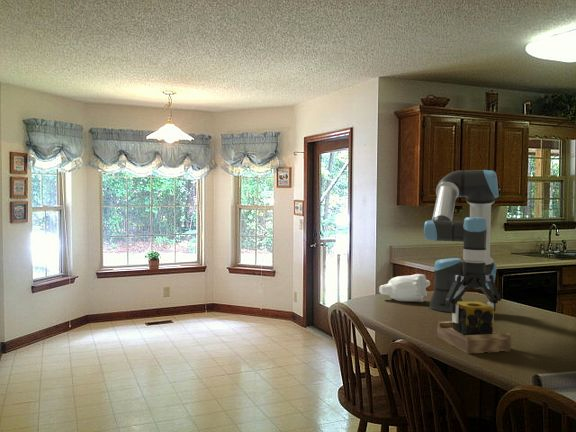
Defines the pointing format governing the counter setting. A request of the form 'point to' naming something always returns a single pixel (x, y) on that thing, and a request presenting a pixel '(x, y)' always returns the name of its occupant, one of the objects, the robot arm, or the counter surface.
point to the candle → (474, 318)
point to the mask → (406, 288)
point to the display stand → (473, 340)
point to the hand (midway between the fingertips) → (472, 321)
